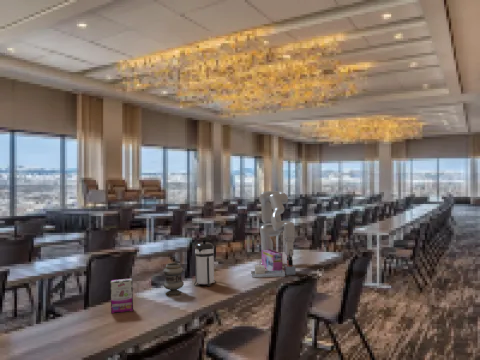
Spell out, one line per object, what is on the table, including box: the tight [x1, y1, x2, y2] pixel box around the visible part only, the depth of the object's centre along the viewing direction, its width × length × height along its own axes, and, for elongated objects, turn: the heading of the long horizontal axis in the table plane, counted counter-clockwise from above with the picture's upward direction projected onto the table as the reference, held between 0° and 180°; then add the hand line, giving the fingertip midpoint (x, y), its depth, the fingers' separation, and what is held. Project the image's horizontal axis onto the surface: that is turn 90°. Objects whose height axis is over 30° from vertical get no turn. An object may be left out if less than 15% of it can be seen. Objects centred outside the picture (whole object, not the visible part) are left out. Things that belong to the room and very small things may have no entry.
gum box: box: [261, 249, 283, 271], centre depth 304 cm, size 24×8×14 cm, turn 19°
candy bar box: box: [110, 277, 134, 314], centre depth 208 cm, size 11×5×16 cm, turn 105°
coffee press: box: [193, 238, 217, 288], centre depth 262 cm, size 17×16×30 cm
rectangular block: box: [250, 268, 286, 278], centre depth 282 cm, size 10×23×3 cm, turn 92°
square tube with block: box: [283, 264, 297, 276], centre depth 288 cm, size 12×7×6 cm, turn 2°
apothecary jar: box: [162, 262, 185, 297], centre depth 240 cm, size 12×12×18 cm
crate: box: [254, 264, 266, 274], centre depth 282 cm, size 7×6×7 cm
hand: (289, 264), depth 286 cm, fingers open, 5 cm apart
